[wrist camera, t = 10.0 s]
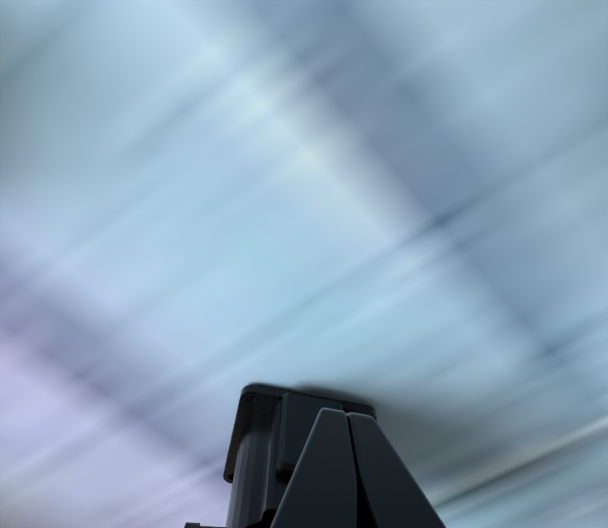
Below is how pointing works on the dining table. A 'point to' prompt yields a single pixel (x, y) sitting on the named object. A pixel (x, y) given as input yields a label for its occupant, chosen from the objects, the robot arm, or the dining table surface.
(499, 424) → the dining table surface
